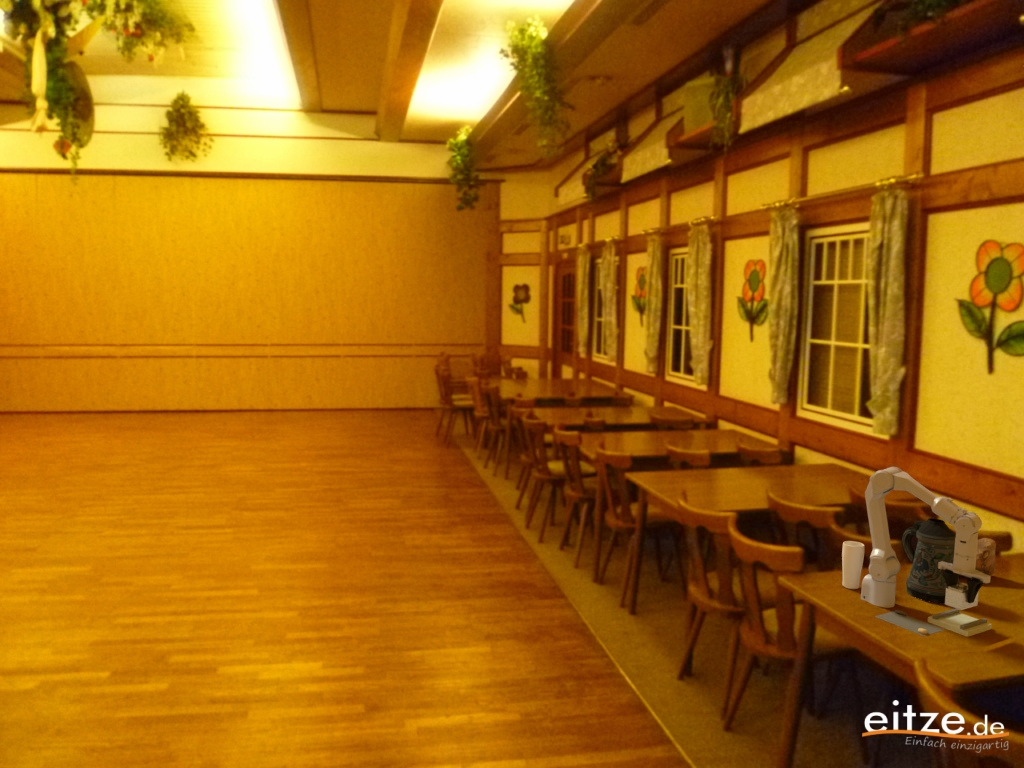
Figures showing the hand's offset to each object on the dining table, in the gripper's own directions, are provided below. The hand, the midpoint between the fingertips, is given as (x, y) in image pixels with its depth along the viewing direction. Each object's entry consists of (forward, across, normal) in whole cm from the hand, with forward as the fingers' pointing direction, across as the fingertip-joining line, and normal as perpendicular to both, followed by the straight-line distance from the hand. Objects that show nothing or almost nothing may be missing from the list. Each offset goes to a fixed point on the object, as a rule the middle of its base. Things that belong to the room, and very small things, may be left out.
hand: (961, 599), depth 237 cm
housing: (+2, 0, 0) cm, 2 cm away
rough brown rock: (+9, -30, +47) cm, 57 cm away
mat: (+9, -8, -12) cm, 17 cm away
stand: (+9, 0, 0) cm, 9 cm away
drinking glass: (+9, -38, +1) cm, 39 cm away
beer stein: (+9, -22, +19) cm, 30 cm away
